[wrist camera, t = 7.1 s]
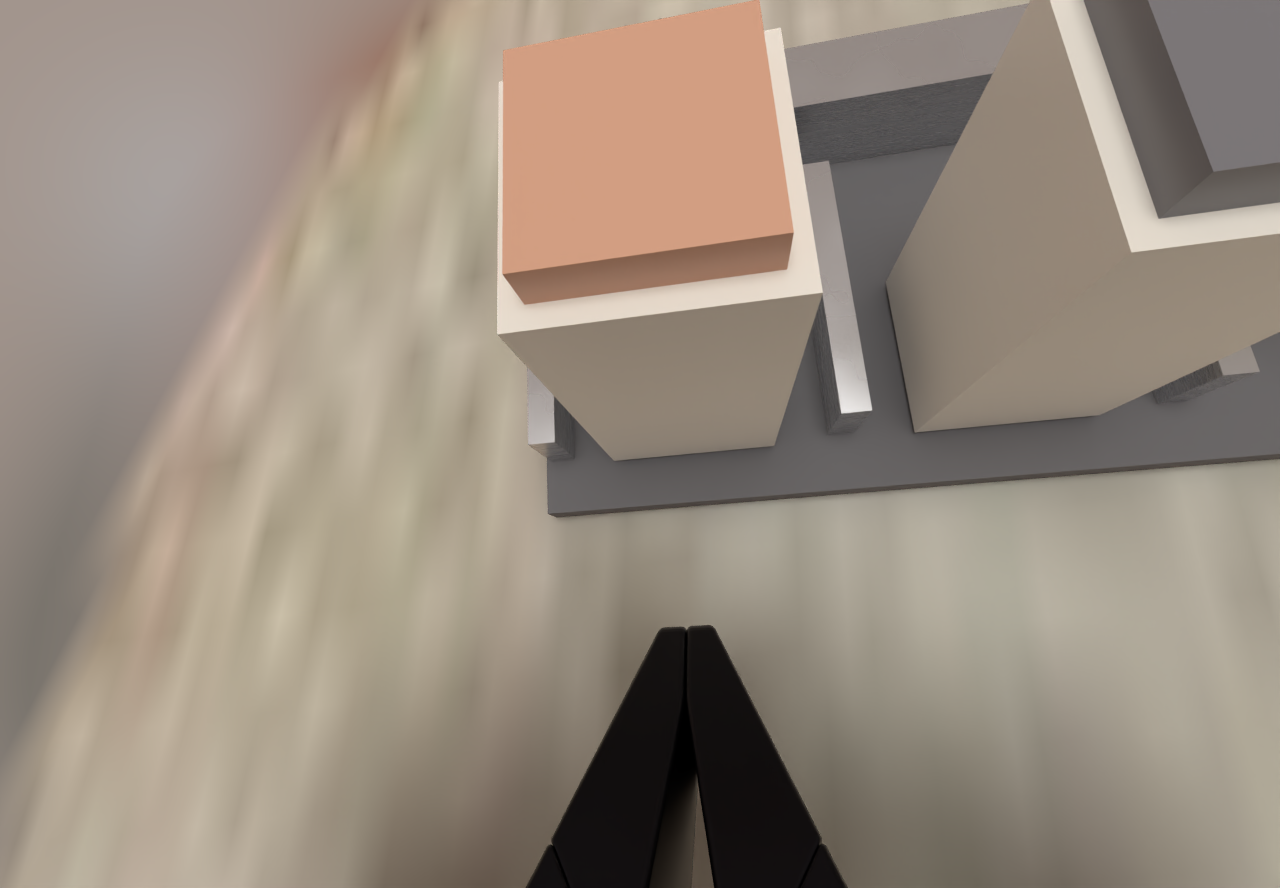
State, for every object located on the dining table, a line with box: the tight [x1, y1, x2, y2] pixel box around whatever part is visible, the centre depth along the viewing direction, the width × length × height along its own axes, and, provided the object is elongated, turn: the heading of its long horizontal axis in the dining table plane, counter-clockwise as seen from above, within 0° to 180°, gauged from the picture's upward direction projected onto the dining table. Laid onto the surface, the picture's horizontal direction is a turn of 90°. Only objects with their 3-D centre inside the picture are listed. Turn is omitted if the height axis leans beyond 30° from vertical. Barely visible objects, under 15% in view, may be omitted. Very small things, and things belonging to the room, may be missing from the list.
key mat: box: [547, 144, 1280, 517], centre depth 16 cm, size 12×24×1 cm, turn 94°
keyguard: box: [527, 4, 1260, 462], centre depth 15 cm, size 10×24×2 cm, turn 93°
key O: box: [497, 0, 823, 461], centre depth 12 cm, size 4×4×9 cm
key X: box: [886, 0, 1280, 432], centre depth 11 cm, size 4×4×9 cm
